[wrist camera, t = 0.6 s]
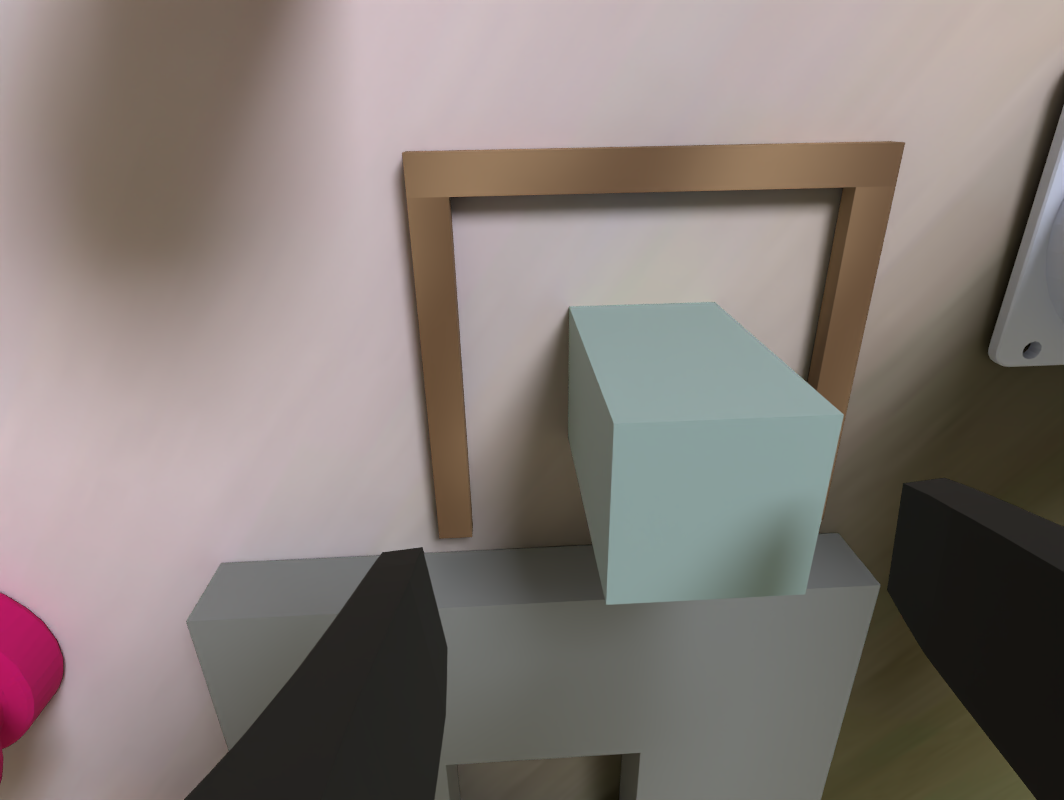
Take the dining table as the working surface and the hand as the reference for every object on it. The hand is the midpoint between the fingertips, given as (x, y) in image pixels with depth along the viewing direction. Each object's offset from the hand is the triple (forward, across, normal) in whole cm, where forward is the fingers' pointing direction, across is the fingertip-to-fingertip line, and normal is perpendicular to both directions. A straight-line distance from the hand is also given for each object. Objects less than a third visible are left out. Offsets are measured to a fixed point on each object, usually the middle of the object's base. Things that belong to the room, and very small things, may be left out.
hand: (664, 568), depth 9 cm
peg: (+9, -1, +1) cm, 9 cm away
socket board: (+9, +3, +16) cm, 19 cm away
